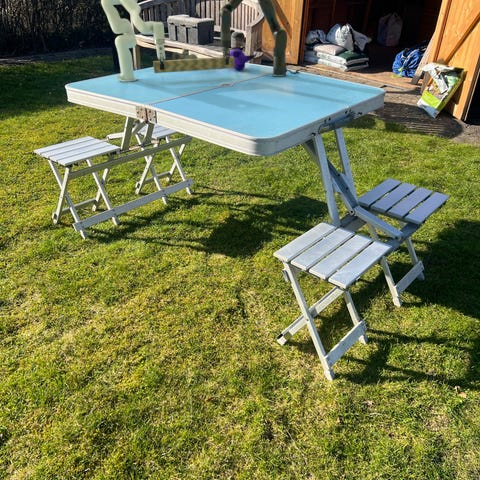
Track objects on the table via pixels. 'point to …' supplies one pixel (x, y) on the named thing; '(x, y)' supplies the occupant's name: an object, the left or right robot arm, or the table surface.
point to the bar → (193, 64)
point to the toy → (240, 58)
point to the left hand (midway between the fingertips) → (161, 68)
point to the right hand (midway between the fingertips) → (226, 63)
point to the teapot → (184, 55)
